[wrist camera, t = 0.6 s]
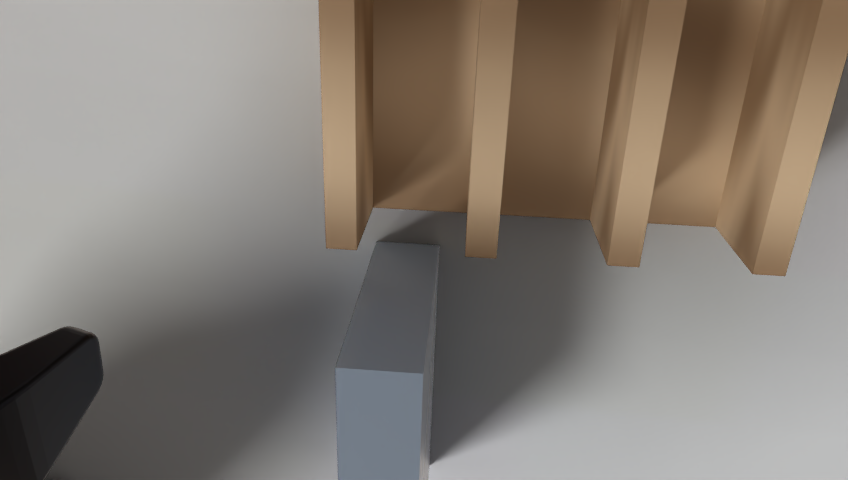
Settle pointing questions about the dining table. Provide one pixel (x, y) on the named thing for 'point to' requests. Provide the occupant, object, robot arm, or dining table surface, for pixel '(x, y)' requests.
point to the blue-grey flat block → (389, 368)
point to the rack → (580, 115)
